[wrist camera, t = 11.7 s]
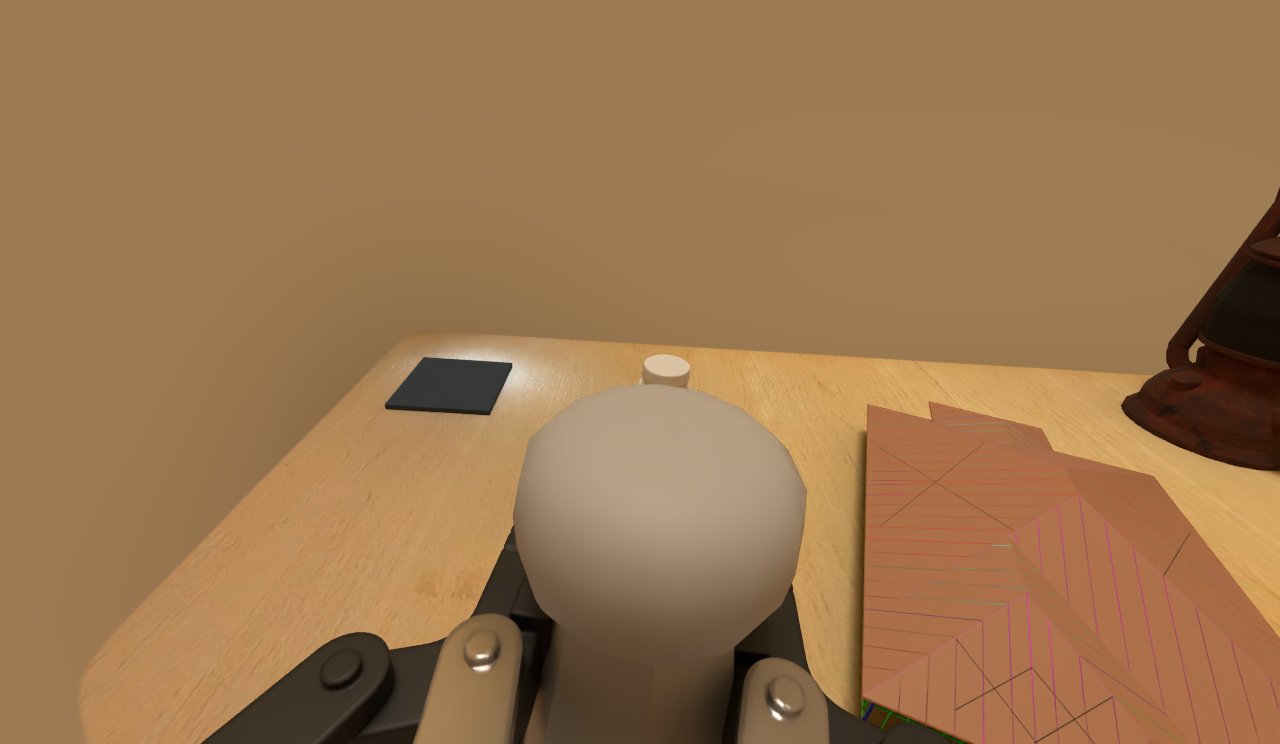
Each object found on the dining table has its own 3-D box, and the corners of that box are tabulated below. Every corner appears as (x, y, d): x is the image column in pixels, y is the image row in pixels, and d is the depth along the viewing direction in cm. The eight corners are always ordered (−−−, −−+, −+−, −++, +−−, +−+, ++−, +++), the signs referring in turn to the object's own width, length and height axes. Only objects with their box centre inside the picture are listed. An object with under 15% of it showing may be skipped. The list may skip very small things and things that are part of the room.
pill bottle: (635, 425, 49) (641, 349, 45) (683, 431, 49) (694, 354, 45) (629, 455, 45) (636, 374, 41) (681, 461, 44) (693, 380, 40)
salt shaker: (730, 743, 15) (848, 373, 9) (721, 1049, 10) (971, 686, 4) (548, 697, 16) (544, 326, 10) (459, 961, 11) (338, 543, 5)
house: (1119, 485, 46) (1171, 412, 42) (1470, 1011, 19) (1707, 944, 15) (858, 417, 53) (882, 349, 49) (843, 731, 26) (893, 635, 22)
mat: (489, 415, 49) (488, 410, 48) (385, 408, 48) (384, 404, 48) (512, 366, 57) (512, 362, 57) (424, 360, 57) (423, 357, 57)
